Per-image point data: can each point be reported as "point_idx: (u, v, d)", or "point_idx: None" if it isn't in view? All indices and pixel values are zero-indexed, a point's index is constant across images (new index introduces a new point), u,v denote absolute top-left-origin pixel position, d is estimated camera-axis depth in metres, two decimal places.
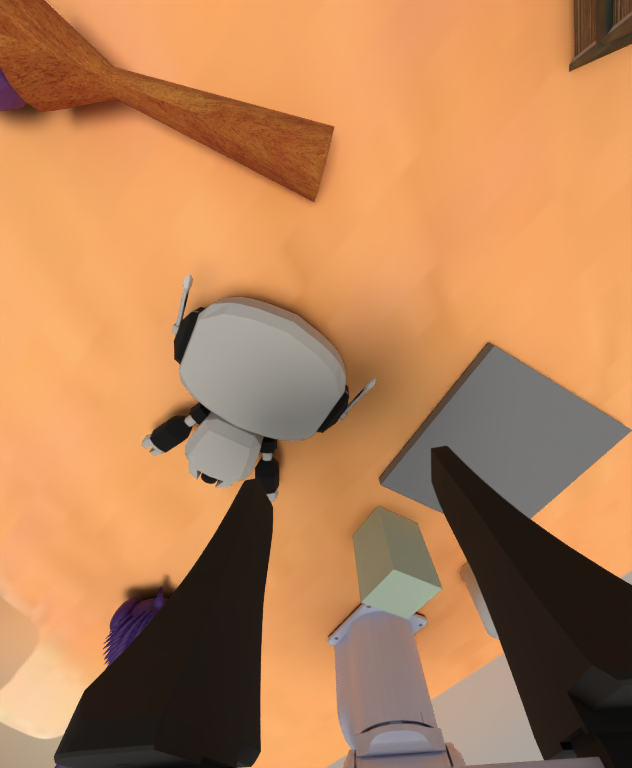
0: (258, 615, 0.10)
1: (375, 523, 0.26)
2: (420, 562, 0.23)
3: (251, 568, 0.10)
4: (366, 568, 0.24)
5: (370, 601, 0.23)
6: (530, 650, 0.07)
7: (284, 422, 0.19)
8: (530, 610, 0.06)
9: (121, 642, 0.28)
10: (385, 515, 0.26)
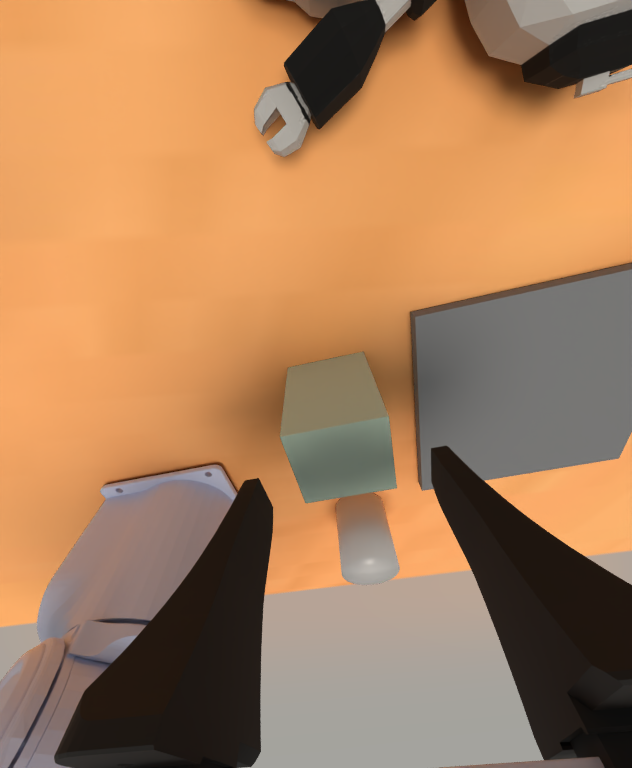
0: (258, 615, 0.10)
1: (351, 365, 0.15)
2: None
3: (251, 568, 0.10)
4: (311, 403, 0.13)
5: (295, 444, 0.12)
6: (530, 650, 0.07)
7: None
8: (530, 610, 0.06)
9: None
10: None
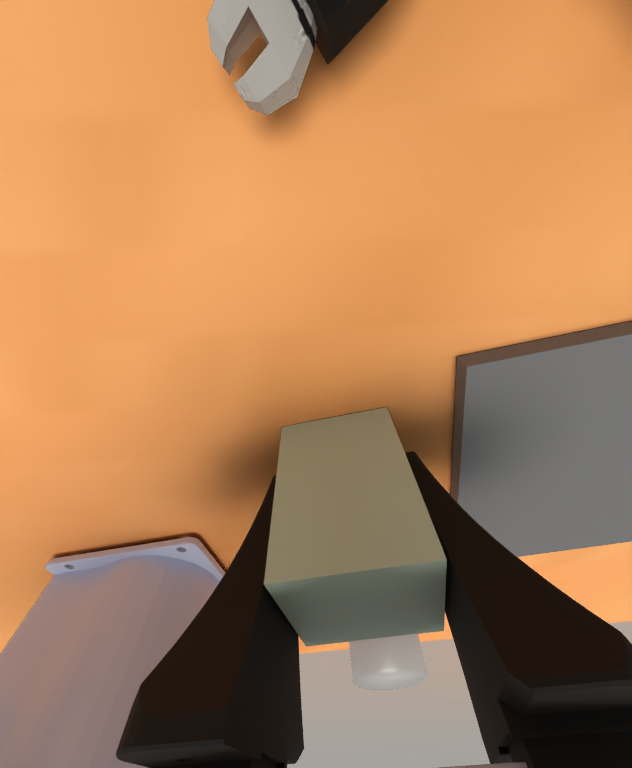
0: None
1: (372, 432, 0.11)
2: None
3: None
4: (314, 506, 0.09)
5: (289, 592, 0.07)
6: (473, 656, 0.07)
7: None
8: (470, 617, 0.06)
9: None
10: None
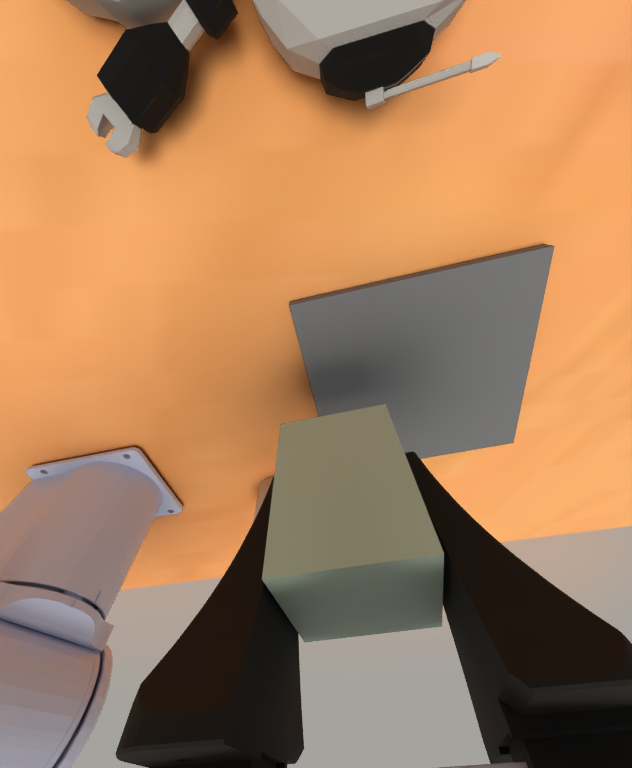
0: None
1: (370, 429, 0.11)
2: None
3: None
4: (313, 502, 0.09)
5: (287, 587, 0.07)
6: (473, 656, 0.07)
7: None
8: (470, 617, 0.06)
9: None
10: None
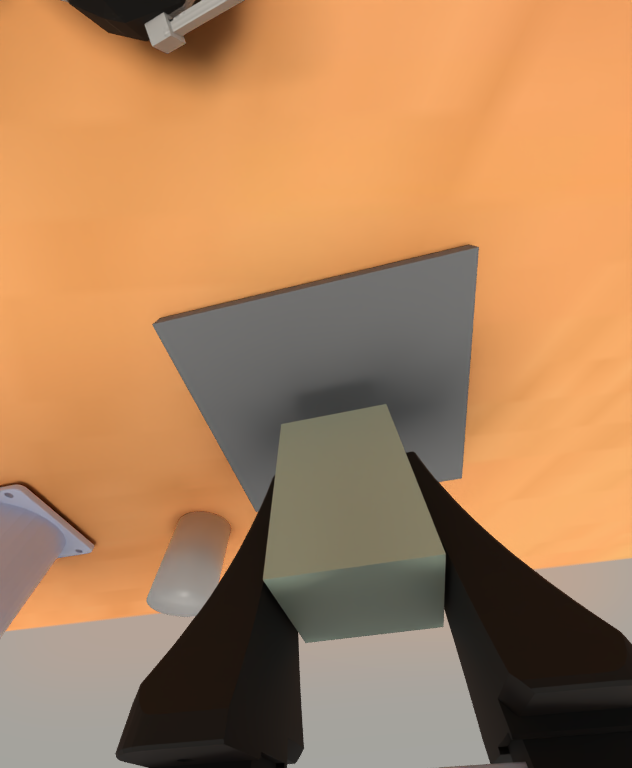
0: None
1: (371, 429, 0.11)
2: None
3: None
4: (314, 503, 0.09)
5: (288, 587, 0.07)
6: (473, 656, 0.07)
7: None
8: (470, 617, 0.06)
9: None
10: None
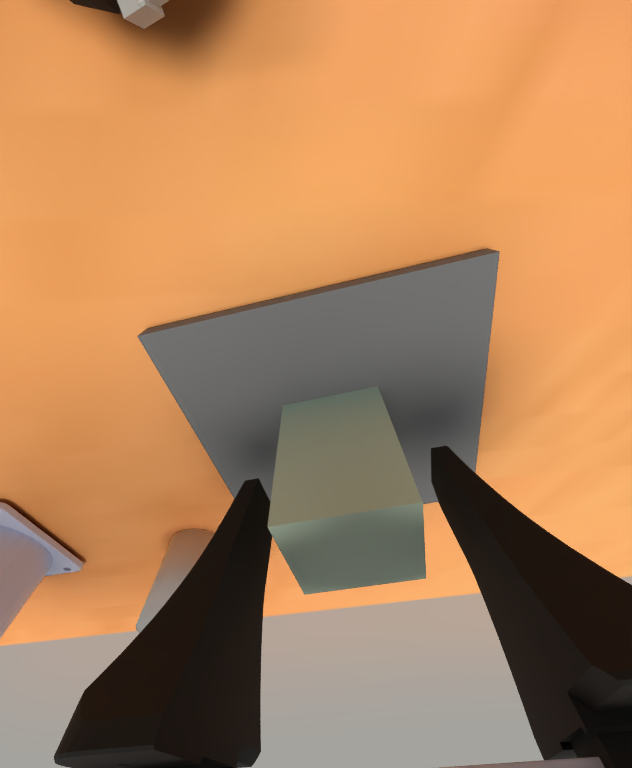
0: (259, 615, 0.10)
1: (363, 407, 0.12)
2: None
3: (251, 568, 0.10)
4: (311, 467, 0.10)
5: (289, 535, 0.09)
6: (530, 650, 0.07)
7: None
8: (530, 610, 0.06)
9: None
10: None
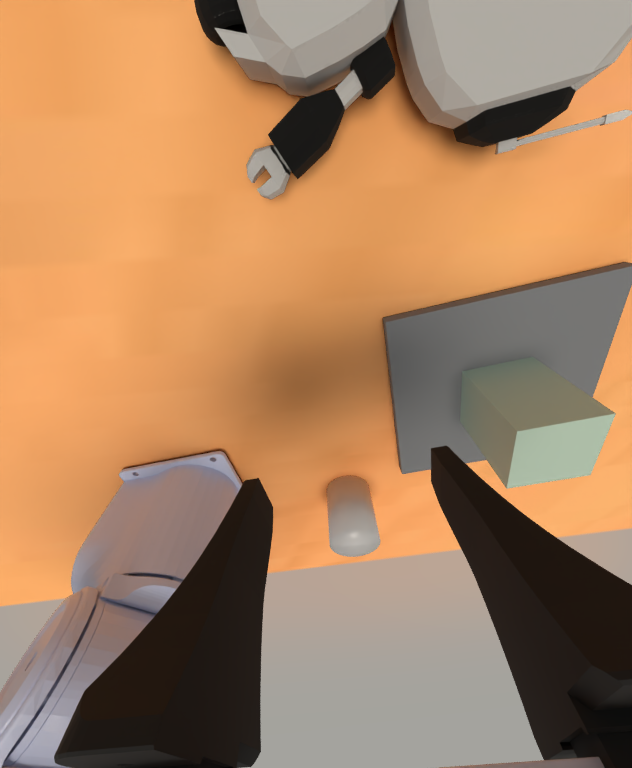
0: (258, 615, 0.10)
1: (532, 369, 0.18)
2: None
3: (251, 568, 0.10)
4: (521, 403, 0.16)
5: (525, 438, 0.14)
6: (530, 650, 0.07)
7: (482, 16, 0.09)
8: (530, 610, 0.06)
9: None
10: None
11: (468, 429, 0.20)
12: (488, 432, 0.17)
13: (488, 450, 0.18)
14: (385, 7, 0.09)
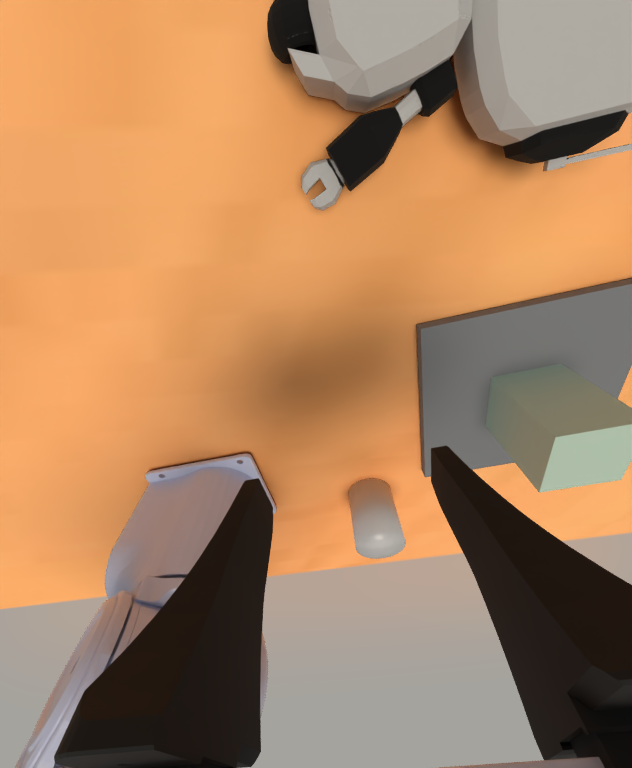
0: (258, 615, 0.10)
1: (561, 376, 0.18)
2: None
3: (251, 568, 0.10)
4: (555, 409, 0.16)
5: (563, 443, 0.15)
6: (530, 650, 0.07)
7: (548, 43, 0.09)
8: (530, 610, 0.06)
9: None
10: None
11: (495, 434, 0.21)
12: (520, 437, 0.18)
13: (519, 455, 0.18)
14: (456, 33, 0.09)
